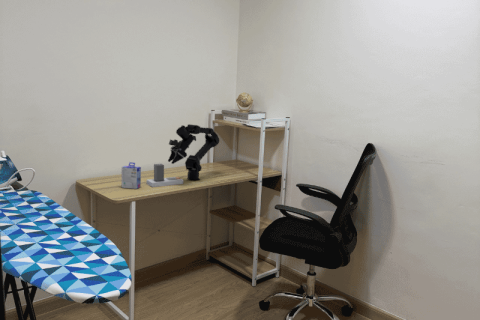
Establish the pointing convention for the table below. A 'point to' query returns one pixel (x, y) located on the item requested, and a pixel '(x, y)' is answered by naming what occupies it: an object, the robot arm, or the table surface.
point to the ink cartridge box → (131, 176)
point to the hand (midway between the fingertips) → (170, 162)
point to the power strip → (165, 182)
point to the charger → (158, 172)
